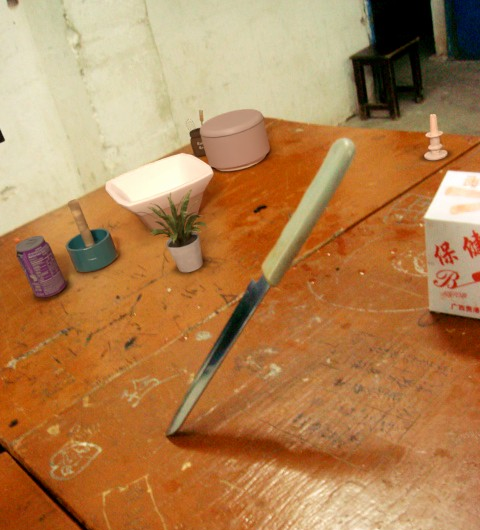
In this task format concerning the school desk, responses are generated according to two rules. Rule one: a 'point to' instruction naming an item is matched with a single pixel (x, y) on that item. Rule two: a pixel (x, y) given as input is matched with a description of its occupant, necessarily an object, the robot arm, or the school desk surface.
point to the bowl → (161, 187)
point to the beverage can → (40, 266)
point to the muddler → (81, 223)
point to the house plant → (181, 235)
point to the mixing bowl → (92, 251)
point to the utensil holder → (197, 139)
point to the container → (235, 139)
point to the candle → (434, 141)
